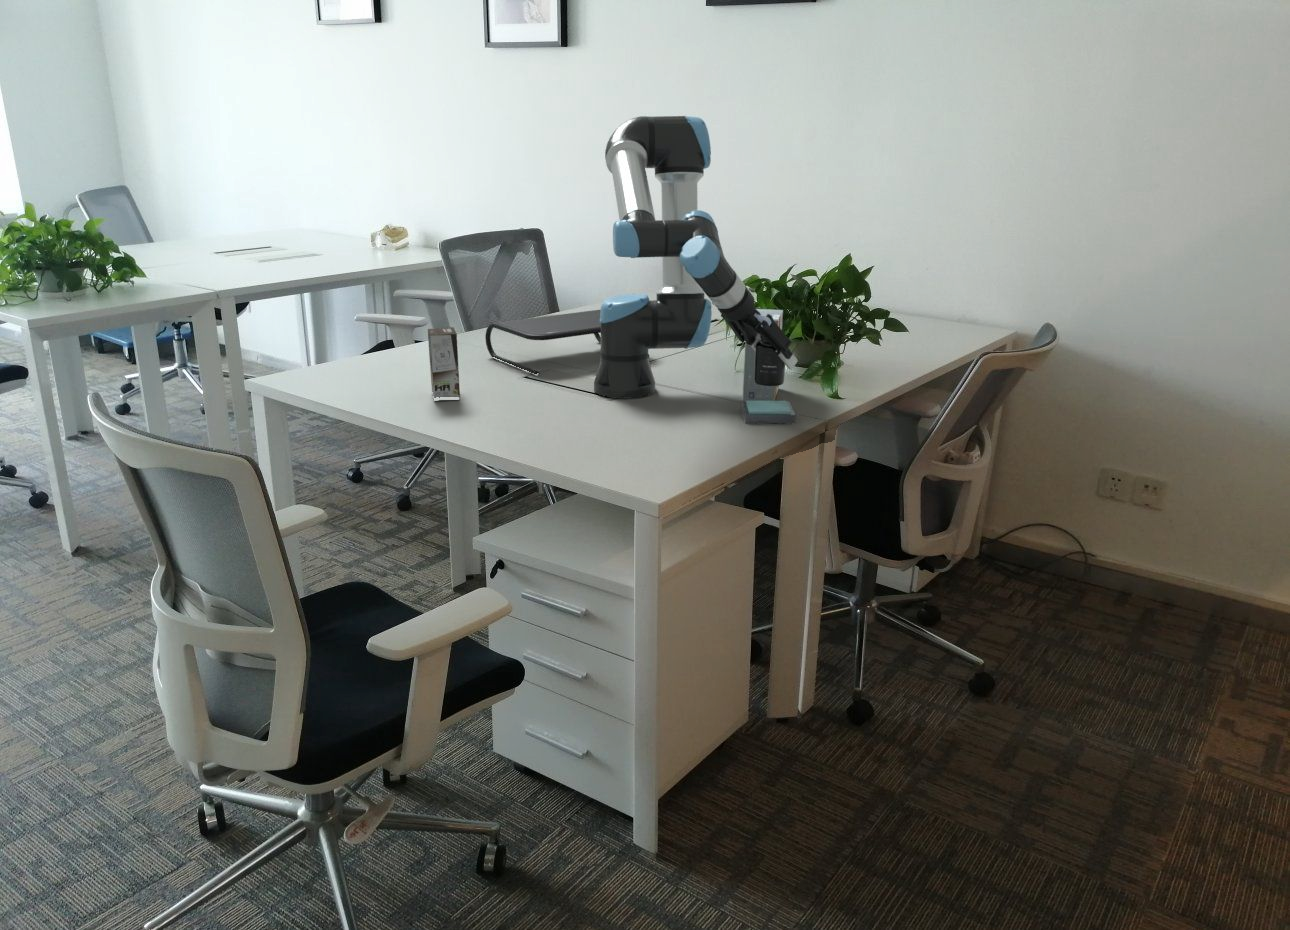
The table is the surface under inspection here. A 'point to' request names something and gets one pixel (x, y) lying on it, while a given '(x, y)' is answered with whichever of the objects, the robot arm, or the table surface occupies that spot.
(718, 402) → the table surface
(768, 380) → the supplement bottle
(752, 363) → the hard drive box
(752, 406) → the scale plate
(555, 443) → the table surface
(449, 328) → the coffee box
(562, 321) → the monitor stand
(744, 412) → the scale base
